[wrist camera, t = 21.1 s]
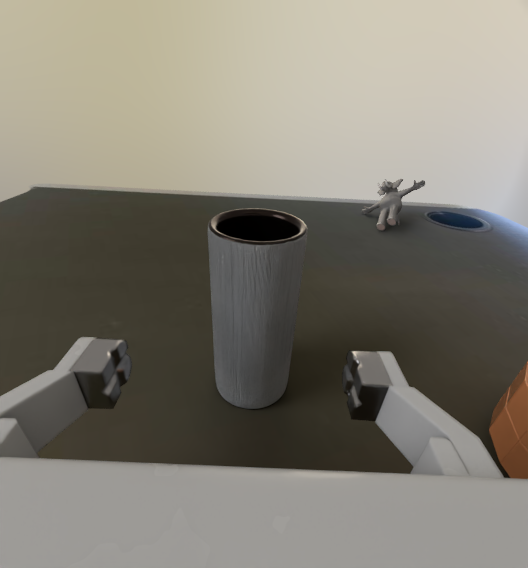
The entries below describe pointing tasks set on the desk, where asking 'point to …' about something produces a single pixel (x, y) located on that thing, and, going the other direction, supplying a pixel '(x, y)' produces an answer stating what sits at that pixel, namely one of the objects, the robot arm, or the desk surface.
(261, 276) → the tall grey cup
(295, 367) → the desk surface
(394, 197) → the grey figurine
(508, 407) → the bowl
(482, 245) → the desk surface
